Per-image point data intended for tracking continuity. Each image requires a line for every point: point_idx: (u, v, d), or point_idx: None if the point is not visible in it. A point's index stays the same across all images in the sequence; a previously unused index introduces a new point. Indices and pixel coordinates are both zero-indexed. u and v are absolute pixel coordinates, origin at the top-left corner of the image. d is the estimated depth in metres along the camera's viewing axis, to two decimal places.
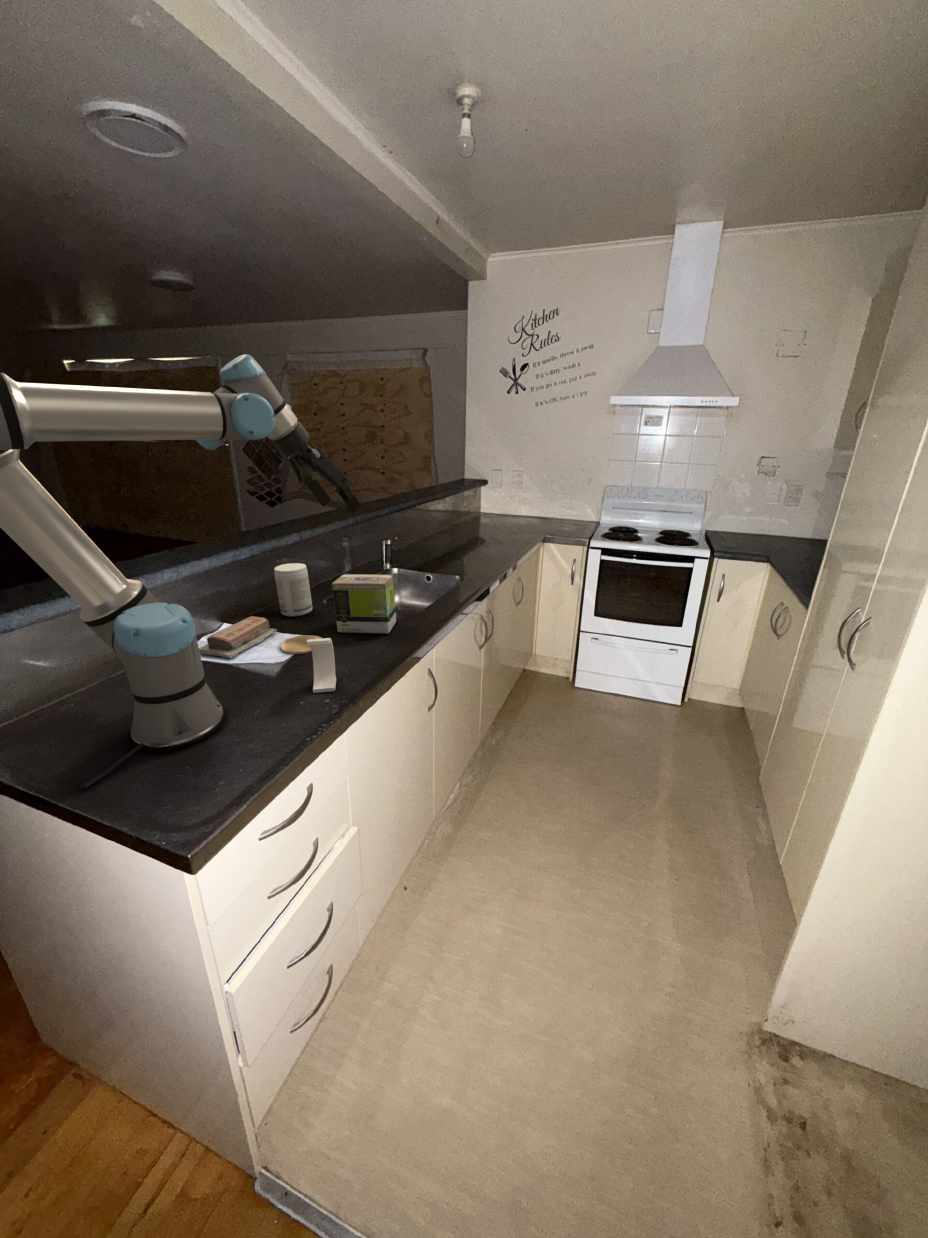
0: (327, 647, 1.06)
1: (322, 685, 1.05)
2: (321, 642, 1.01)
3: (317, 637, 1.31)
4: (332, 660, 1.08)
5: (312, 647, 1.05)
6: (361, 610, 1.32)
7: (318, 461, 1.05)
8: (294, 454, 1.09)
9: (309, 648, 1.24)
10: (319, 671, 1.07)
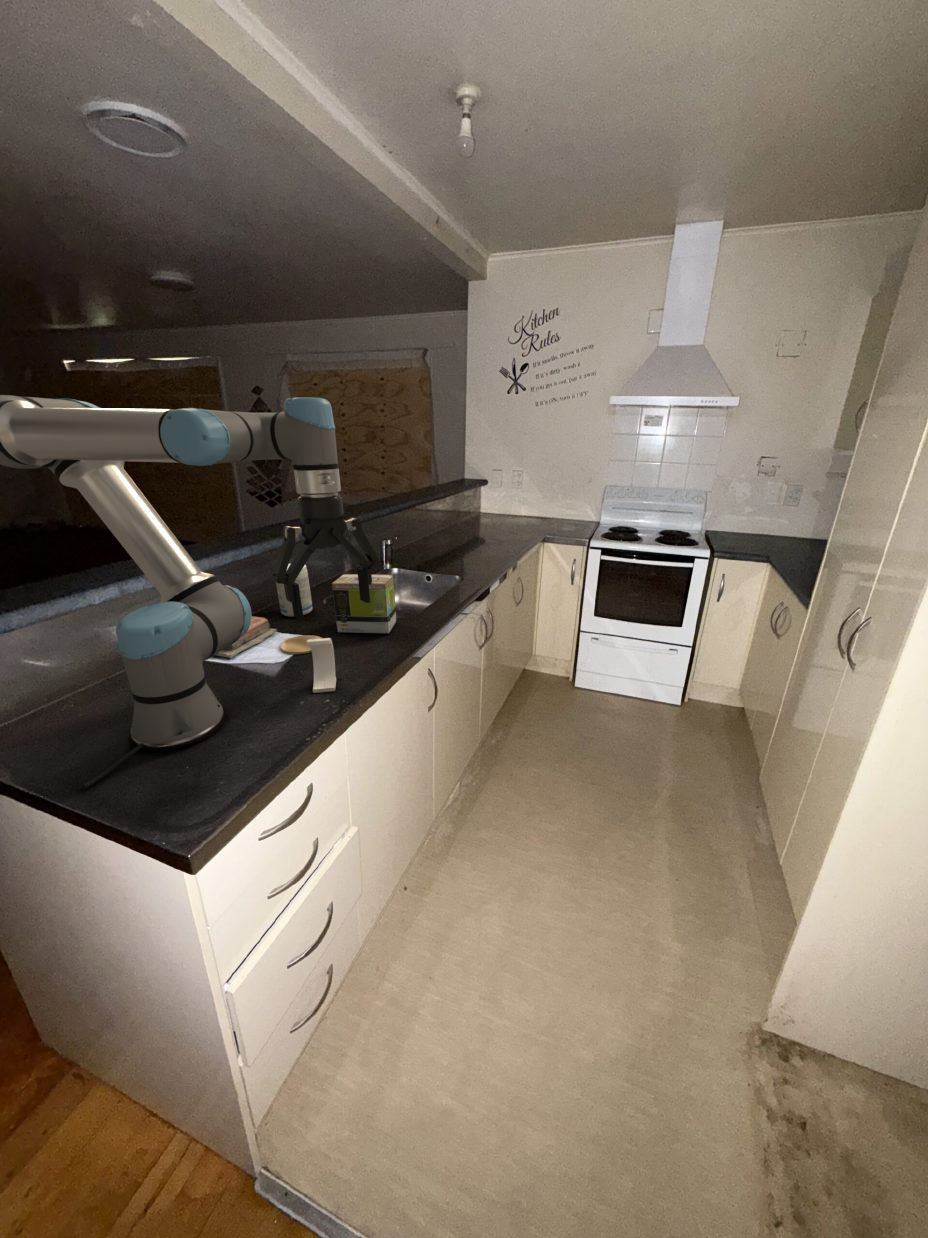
0: (327, 647, 1.06)
1: (322, 685, 1.05)
2: (321, 642, 1.01)
3: (317, 637, 1.31)
4: (332, 660, 1.08)
5: (312, 647, 1.05)
6: (361, 610, 1.32)
7: (283, 539, 0.84)
8: None
9: (309, 648, 1.24)
10: (319, 671, 1.07)
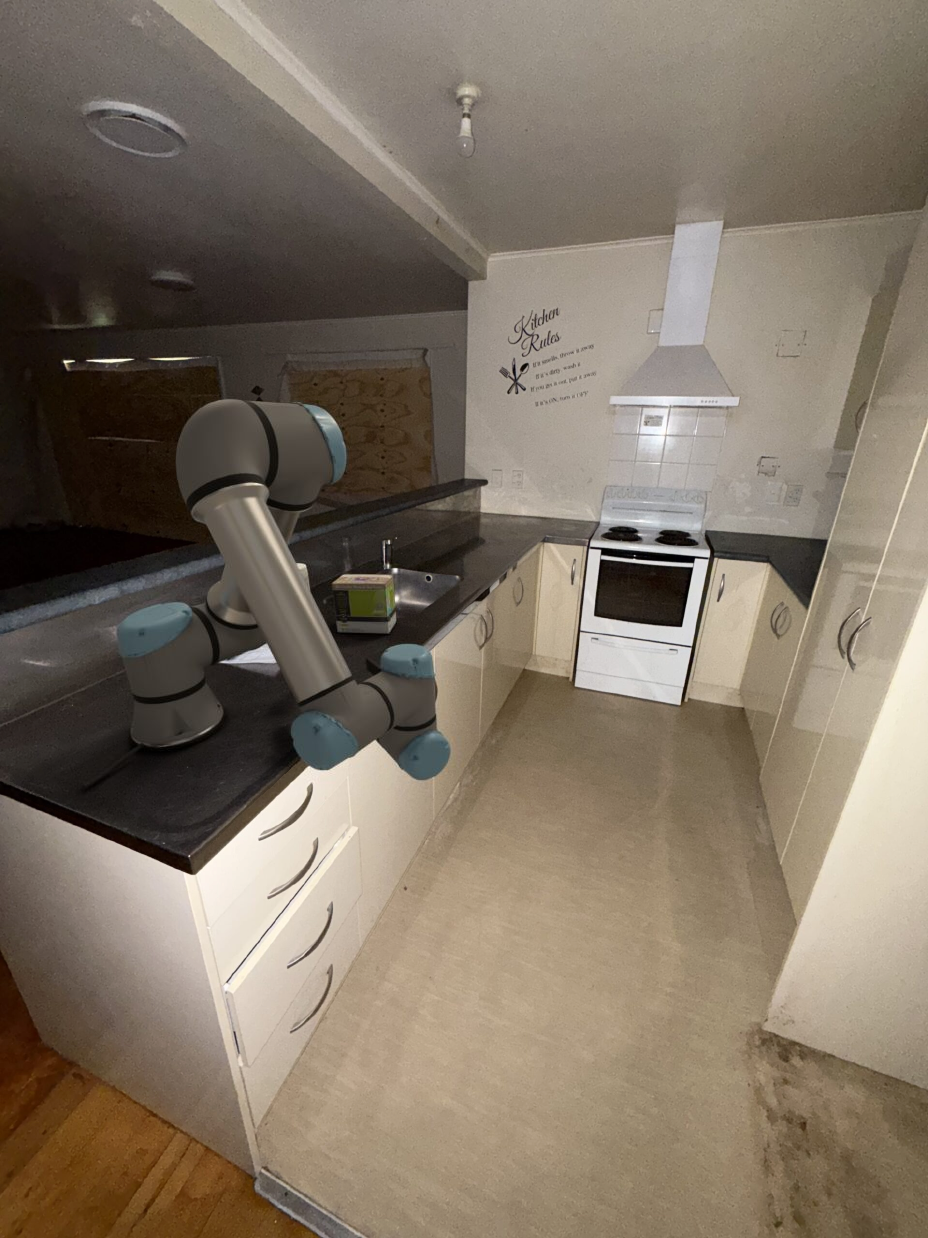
0: None
1: None
2: None
3: None
4: None
5: None
6: (361, 610, 1.32)
7: None
8: None
9: None
10: None
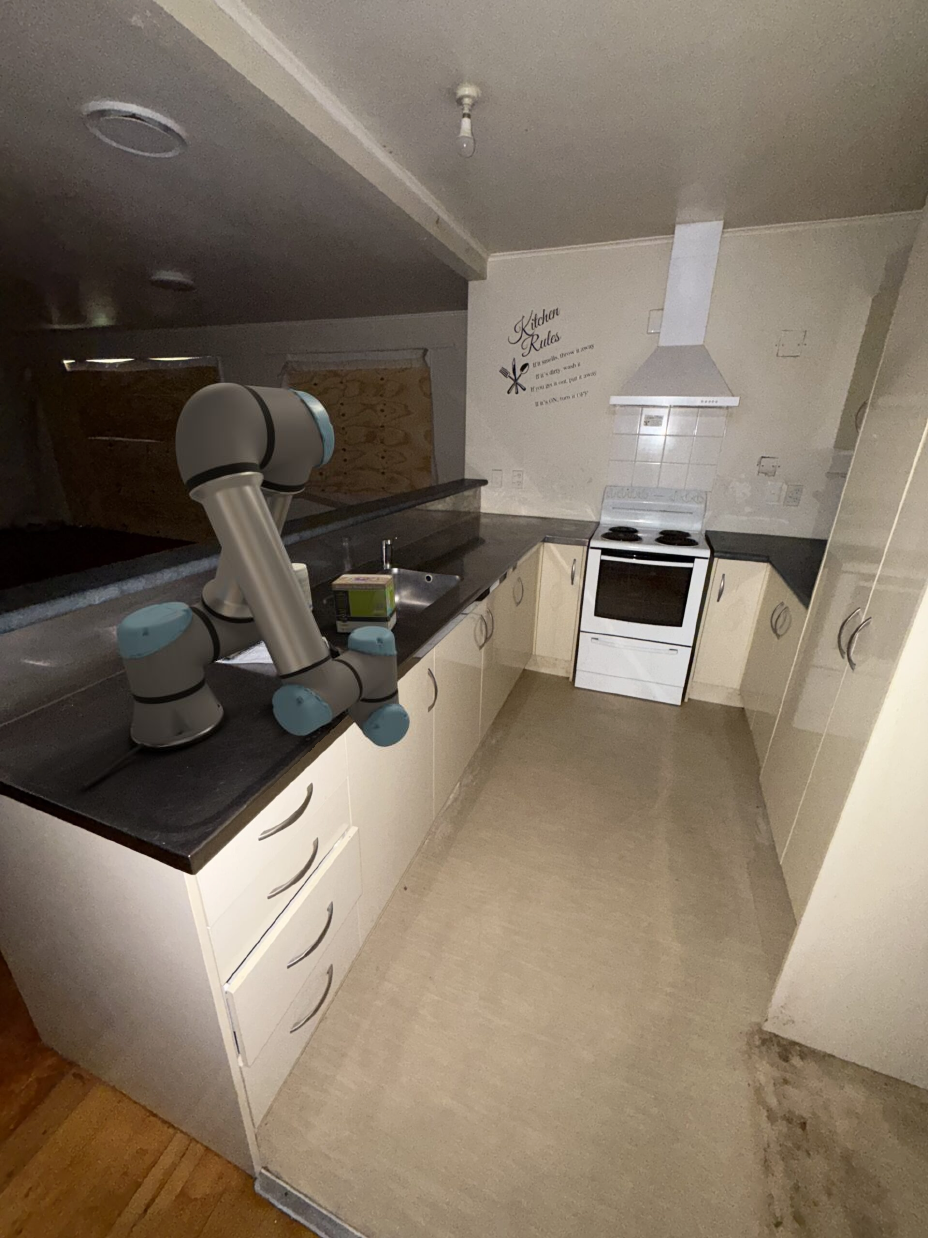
0: None
1: None
2: None
3: None
4: None
5: None
6: (361, 610, 1.32)
7: None
8: None
9: None
10: None
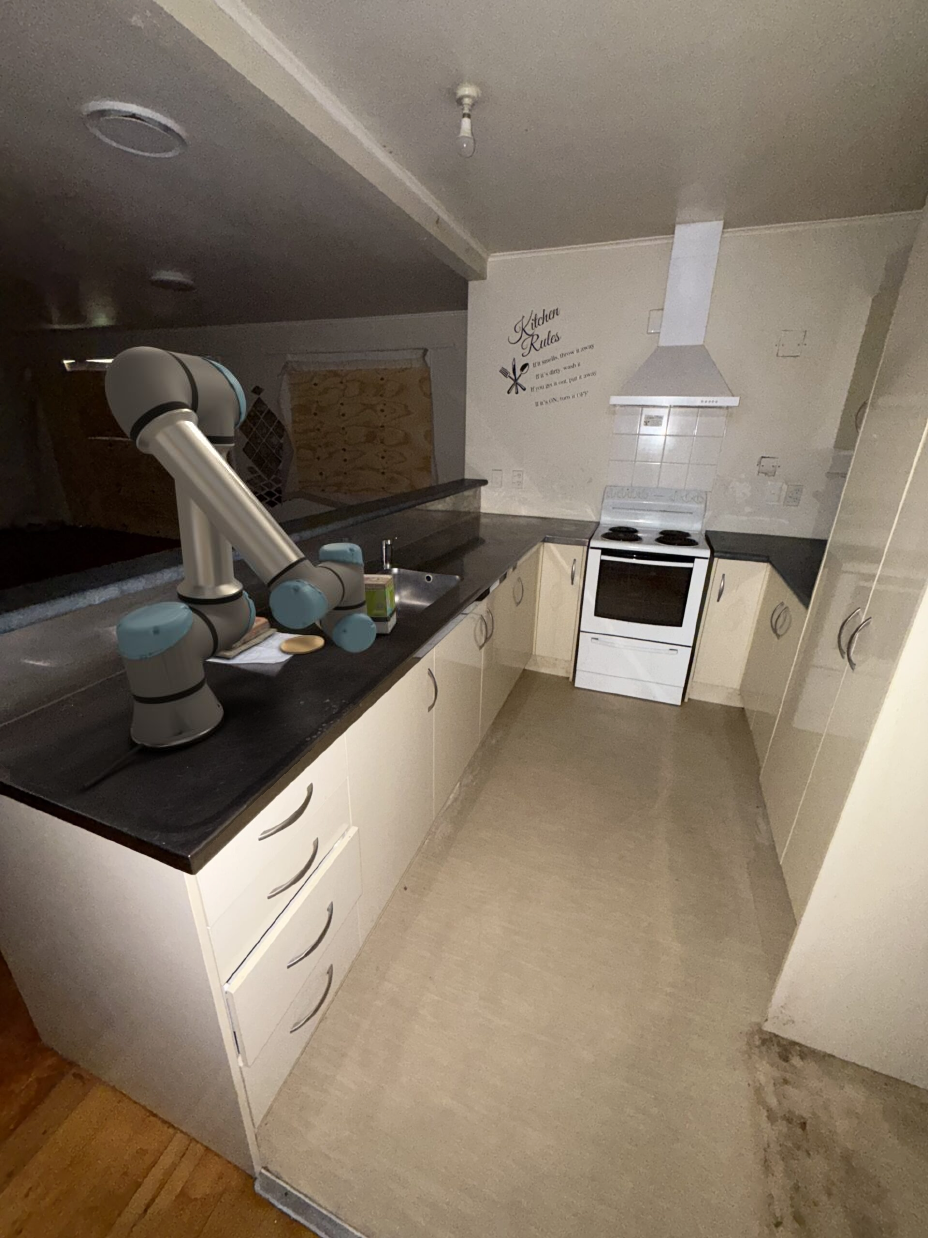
0: None
1: None
2: None
3: (317, 637, 1.31)
4: None
5: None
6: None
7: None
8: None
9: (309, 648, 1.24)
10: None
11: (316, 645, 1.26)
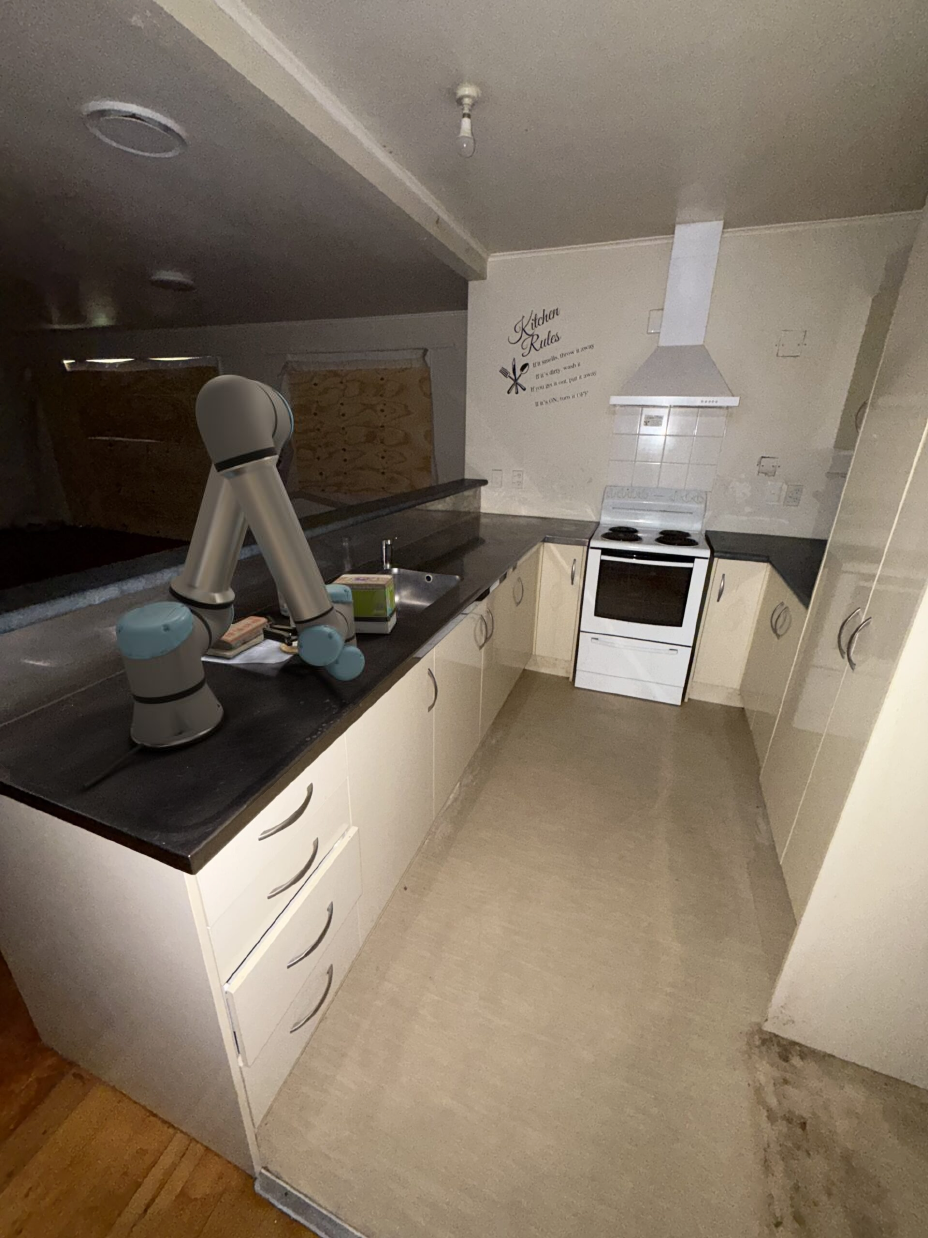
0: None
1: None
2: None
3: None
4: None
5: None
6: (361, 610, 1.32)
7: (283, 635, 1.13)
8: None
9: None
10: None
11: None
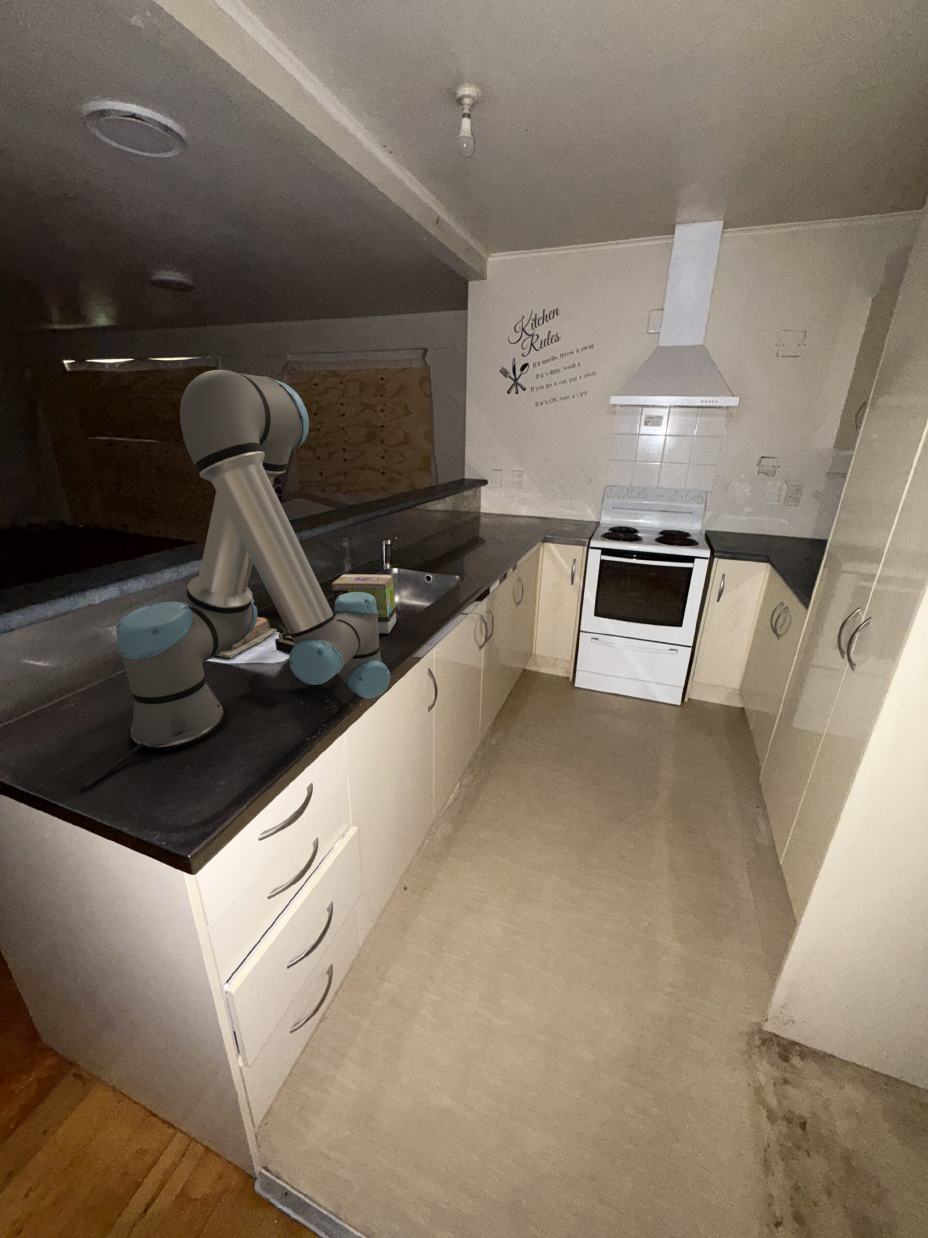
0: None
1: None
2: None
3: None
4: None
5: None
6: None
7: None
8: None
9: None
10: None
11: None
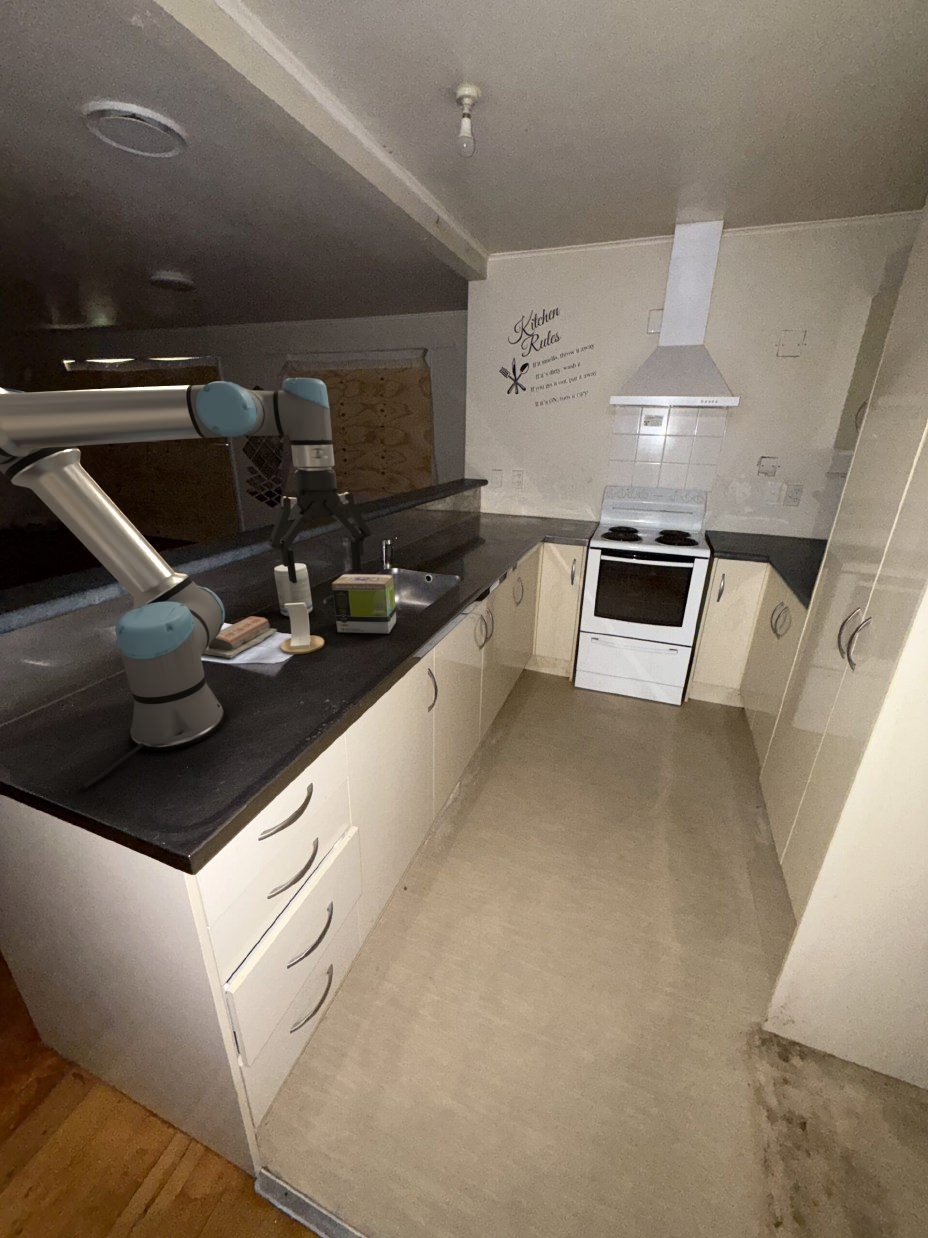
0: (302, 611, 1.26)
1: (298, 642, 1.25)
2: (296, 605, 1.20)
3: (317, 637, 1.31)
4: (307, 622, 1.28)
5: (289, 611, 1.25)
6: (361, 610, 1.32)
7: None
8: None
9: (309, 648, 1.24)
10: (296, 631, 1.27)
11: (316, 645, 1.26)
